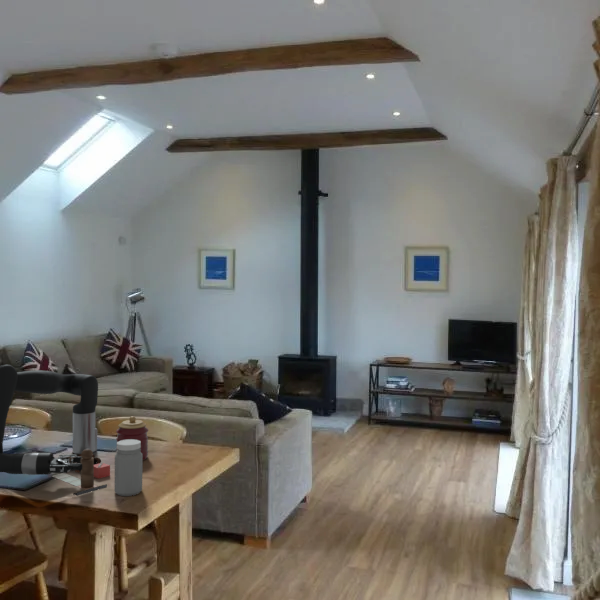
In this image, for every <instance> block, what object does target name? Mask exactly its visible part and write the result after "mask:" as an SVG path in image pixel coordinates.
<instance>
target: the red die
mask: <svg viewBox="0 0 600 600" xmlns="http://www.w3.org/2000/svg"><path fill="white" fill-rule="evenodd" d="M110 476H111V464H107V463H104V462H102V461H101V463H99V464H95V465H94V479H95V478H96V479H98V480H99V479H103V478H106V477H110Z"/></svg>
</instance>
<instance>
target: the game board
mask: <svg viewBox="0 0 600 600" xmlns="http://www.w3.org/2000/svg"><path fill="white" fill-rule="evenodd" d="M52 477H53V478H55V479H57V480H60V481H62V482H65V483H67V484H69V485H72V486H75V487H77V488H80V489H82V490H80V491H77V492H73V493H72V494H73V495H74V494H75V495H74V496H77V497H78V496H81V495H84V494H88V493H92V492H95V491H98V489H99V490H102V489H106V488H107V486H108V485H107V484H102V485H99V486H98V485H97V484H94V486H93V487H91V488H81V479H80V478H78V477H76V476H73V475H70V474H68V473H56V474H54V475H53V474H52V475H51V478H52ZM91 491H92V492H91Z"/></svg>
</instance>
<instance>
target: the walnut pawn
mask: <svg viewBox="0 0 600 600" xmlns="http://www.w3.org/2000/svg"><path fill="white" fill-rule="evenodd" d="M93 453H94V452H92V450H90V449H84V450H83V451H82V453H81V457H82V458H81V464H82V470H81V473H80V480H81V485H80V486H81V488H80V489H82V488H91V487H93V486H94V485H95V483H94V482H95V480H94V479H95V477H94V458H95V457H94V458H93V457H92V456H93V455H94V454H93Z"/></svg>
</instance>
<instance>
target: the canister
mask: <svg viewBox="0 0 600 600" xmlns="http://www.w3.org/2000/svg"><path fill="white" fill-rule="evenodd" d="M146 426H147V423H146V422H144V421H143V420H141V419H136V417H135V416H133V415H132V416H130V417H129V418H128V419H127V420H123V421H122V422H121V423H119V424H118V427H119V428H117V429H116V431H115V432H116V433H117V437H116V440H115V441H116V443H117V442H119V441H121V440H126V439H134V440H139V441H141V448H140V449H141V451H140V452H141V453H142V456H143V459H142V461H145V460H146V459H147V458H148V457H149V456H148V455H149V450H148V449H149V444H148V443H149V440H148V439H149V436H148V432H149V428H147V427H146ZM117 450H118V449H117V448H116V453H117ZM116 453H115V454H116Z"/></svg>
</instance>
